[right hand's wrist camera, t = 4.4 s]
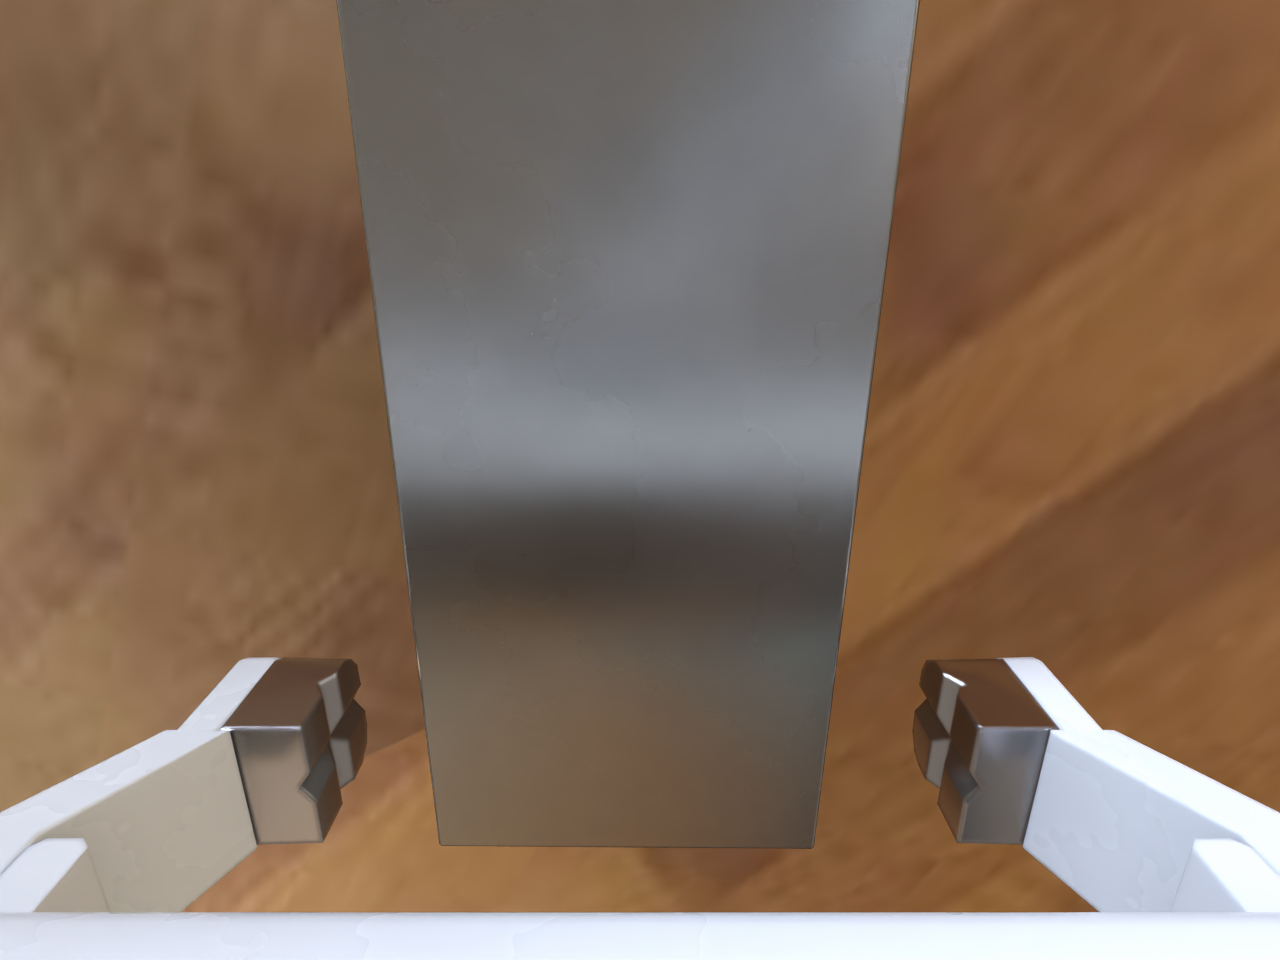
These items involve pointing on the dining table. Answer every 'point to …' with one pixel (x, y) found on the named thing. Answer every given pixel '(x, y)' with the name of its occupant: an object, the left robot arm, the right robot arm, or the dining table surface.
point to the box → (627, 392)
